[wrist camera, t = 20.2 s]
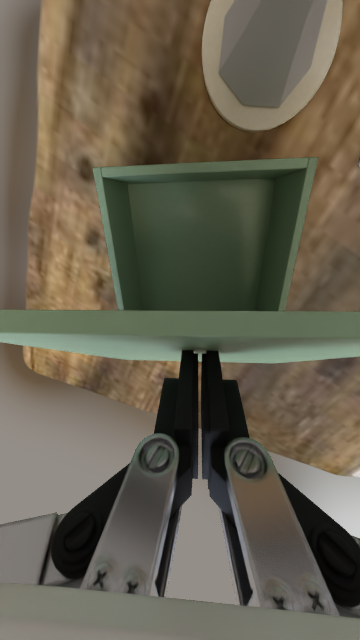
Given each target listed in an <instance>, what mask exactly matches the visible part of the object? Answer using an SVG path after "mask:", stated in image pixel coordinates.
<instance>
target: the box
mask: <svg viewBox="0 0 360 640" xmlns="http://www.w3.org/2000/svg"><path fill="white" fill-rule="evenodd" d="M317 161H318V157H309V158H308V157H305V158H284V159H262V160H241V161H220V162H198V163H177V164H156V165H134V166H113V167H93V173H94V178H95V184H96V189H97V195H98V200H99V206H100V212H101V217H102V223H103V228H104V234H105V239H106V245H107V250H108V256H109V261H110V267H111V272H112V278H113V284H114V289H115V295H116V300H117V306H118V310H146V311H285V307H286V302H287V297H288V293H289V288H290V284H291V279H292V275H293V270H294V266H295V261H296V257H297V252H298V248H299V243H300V238H301V234H302V229H303V225H304V220H305V216H306V211H307V207H308V202H309V198H310V193H311V189H312V184H313V179H314V175H315V170H316V166H317Z"/></svg>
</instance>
